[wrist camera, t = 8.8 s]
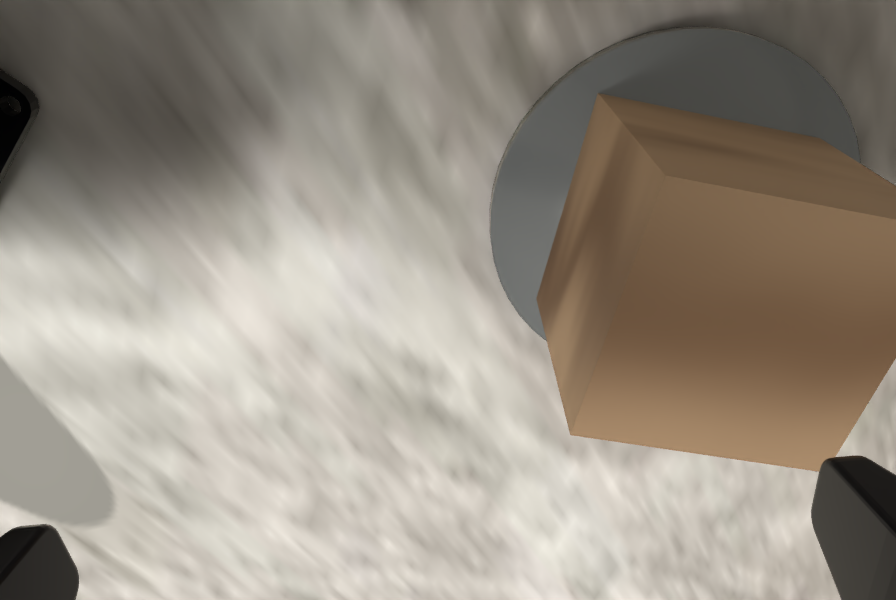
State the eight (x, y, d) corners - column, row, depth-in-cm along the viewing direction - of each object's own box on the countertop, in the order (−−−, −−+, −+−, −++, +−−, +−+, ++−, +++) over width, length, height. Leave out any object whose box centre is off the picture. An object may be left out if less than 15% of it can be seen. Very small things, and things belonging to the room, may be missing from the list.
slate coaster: (655, 411, 24) (660, 423, 23) (417, 238, 20) (416, 247, 20) (922, 189, 20) (935, 196, 19) (682, -67, 17) (690, -65, 16)
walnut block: (729, 331, 21) (825, 472, 16) (536, 298, 21) (570, 435, 15) (819, 137, 18) (971, 234, 13) (597, 93, 18) (665, 175, 13)
